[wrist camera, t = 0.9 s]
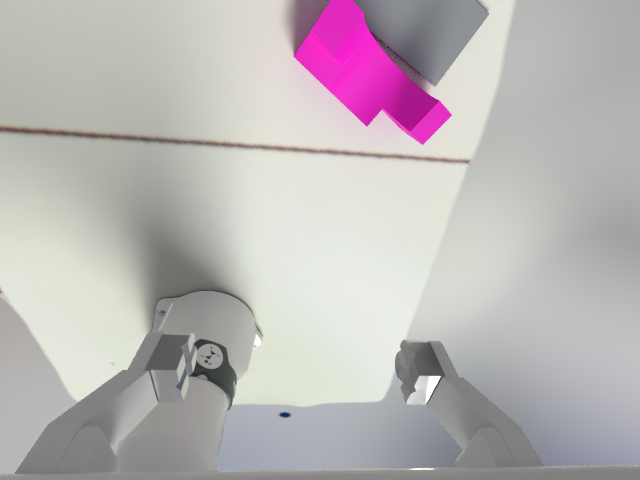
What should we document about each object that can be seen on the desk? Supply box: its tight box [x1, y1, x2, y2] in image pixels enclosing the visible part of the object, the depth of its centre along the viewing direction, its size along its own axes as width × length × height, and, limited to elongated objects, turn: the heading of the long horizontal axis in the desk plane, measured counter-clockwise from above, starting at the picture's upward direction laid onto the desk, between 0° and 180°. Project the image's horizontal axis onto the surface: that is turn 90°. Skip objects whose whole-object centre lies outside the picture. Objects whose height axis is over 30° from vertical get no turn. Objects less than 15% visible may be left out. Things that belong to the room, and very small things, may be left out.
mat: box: [353, 0, 489, 86], centre depth 31 cm, size 8×14×1 cm, turn 57°
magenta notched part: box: [294, 0, 452, 145], centre depth 31 cm, size 15×6×8 cm, turn 49°
